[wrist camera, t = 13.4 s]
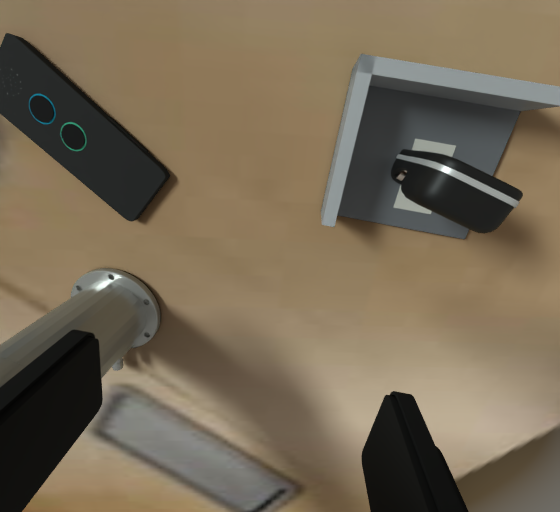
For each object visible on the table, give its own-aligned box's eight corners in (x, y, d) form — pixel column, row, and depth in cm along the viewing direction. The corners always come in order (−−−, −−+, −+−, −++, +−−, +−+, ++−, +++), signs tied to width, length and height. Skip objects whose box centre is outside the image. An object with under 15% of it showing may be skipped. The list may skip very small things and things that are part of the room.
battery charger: (379, 181, 31) (412, 205, 20) (399, 146, 29) (446, 152, 19) (437, 209, 31) (499, 246, 21) (460, 176, 30) (539, 198, 19)
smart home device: (6, 27, 29) (167, 174, 33) (22, 32, 30) (174, 172, 34) (-23, 97, 32) (129, 224, 35) (-6, 99, 33) (137, 221, 37)
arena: (462, 237, 33) (489, 256, 28) (320, 211, 33) (321, 224, 28) (522, 97, 27) (570, 88, 22) (352, 68, 28) (360, 53, 23)
